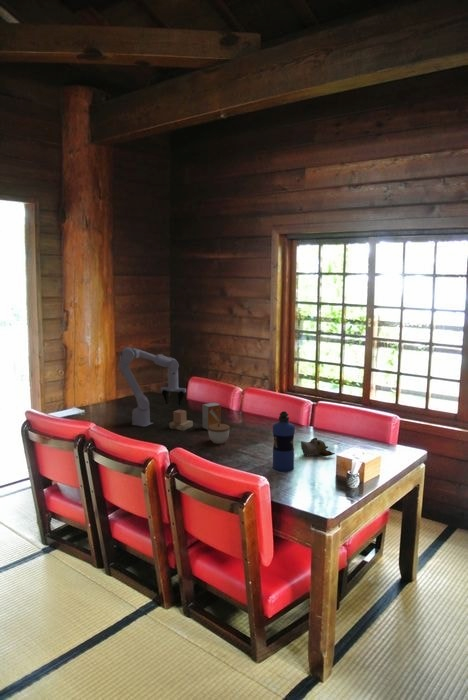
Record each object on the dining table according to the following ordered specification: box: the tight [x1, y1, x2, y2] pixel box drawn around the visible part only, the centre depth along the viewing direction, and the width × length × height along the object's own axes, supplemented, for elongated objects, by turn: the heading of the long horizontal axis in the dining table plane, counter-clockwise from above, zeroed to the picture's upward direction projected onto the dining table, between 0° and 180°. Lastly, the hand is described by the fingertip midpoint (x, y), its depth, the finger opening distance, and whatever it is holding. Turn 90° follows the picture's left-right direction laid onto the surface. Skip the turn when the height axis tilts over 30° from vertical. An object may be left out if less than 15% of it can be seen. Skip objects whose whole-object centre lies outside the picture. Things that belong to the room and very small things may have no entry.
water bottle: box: [272, 411, 296, 473], centre depth 227 cm, size 9×9×25 cm
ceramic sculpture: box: [300, 437, 335, 457], centre depth 244 cm, size 11×9×15 cm
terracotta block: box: [172, 409, 188, 424], centre depth 287 cm, size 5×5×6 cm
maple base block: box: [169, 419, 194, 432], centre depth 288 cm, size 9×9×4 cm
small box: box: [201, 402, 222, 431], centre depth 287 cm, size 8×6×13 cm
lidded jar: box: [207, 423, 230, 445], centre depth 263 cm, size 11×11×9 cm
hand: (173, 404), depth 296 cm, fingers open, 7 cm apart
